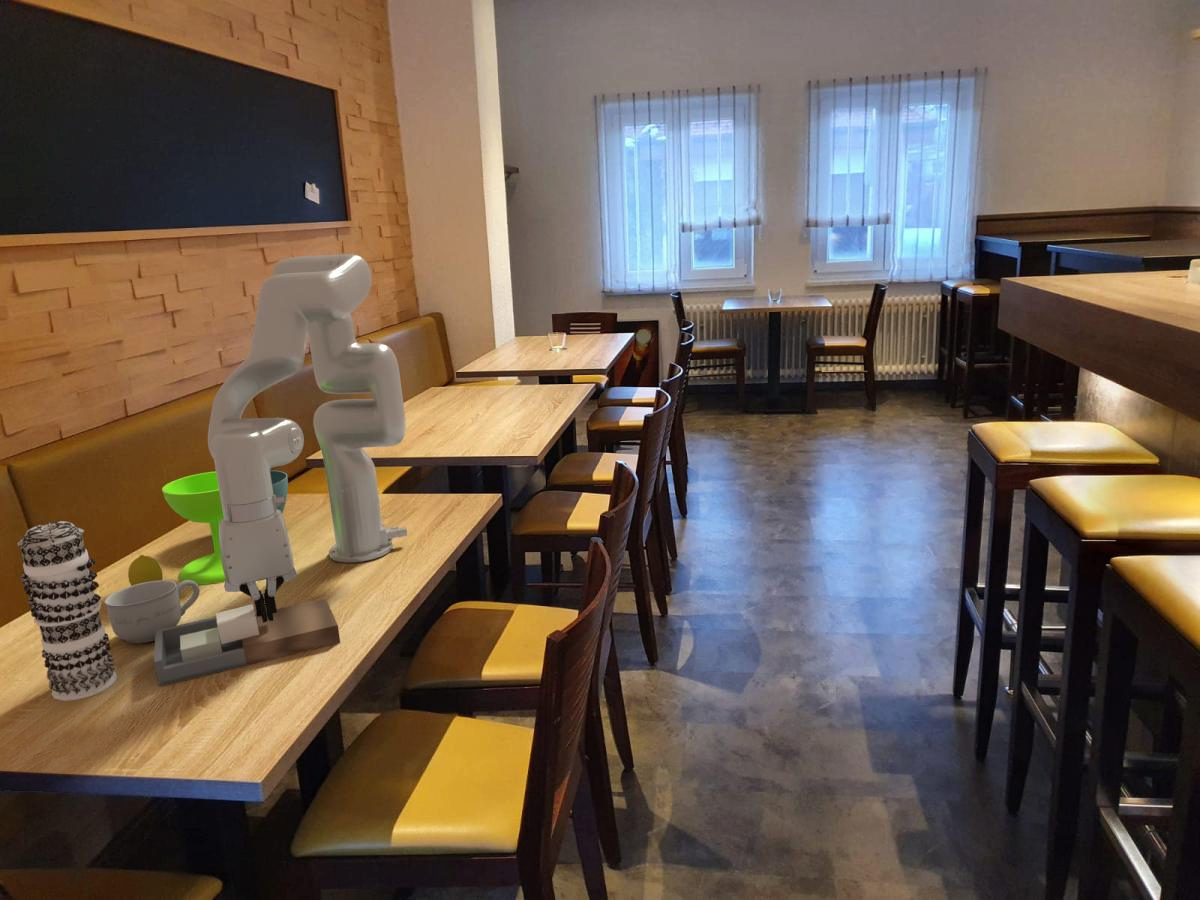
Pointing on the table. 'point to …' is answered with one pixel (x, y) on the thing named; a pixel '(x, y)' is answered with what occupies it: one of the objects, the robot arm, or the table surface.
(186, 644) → the sage tile
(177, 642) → the box
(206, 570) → the wineglass
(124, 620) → the teacup
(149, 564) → the lemon
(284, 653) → the walnut wavy ramp
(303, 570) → the table surface
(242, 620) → the white tile
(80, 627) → the decorative candle
